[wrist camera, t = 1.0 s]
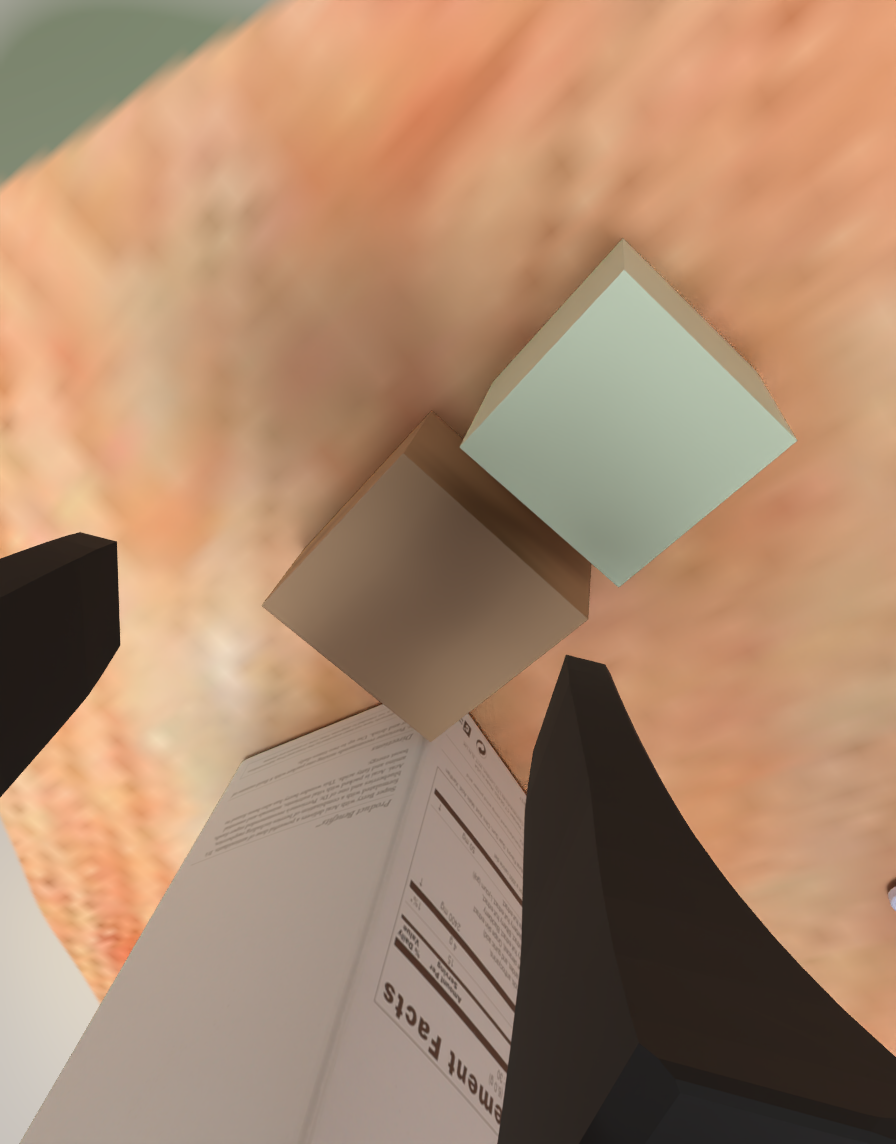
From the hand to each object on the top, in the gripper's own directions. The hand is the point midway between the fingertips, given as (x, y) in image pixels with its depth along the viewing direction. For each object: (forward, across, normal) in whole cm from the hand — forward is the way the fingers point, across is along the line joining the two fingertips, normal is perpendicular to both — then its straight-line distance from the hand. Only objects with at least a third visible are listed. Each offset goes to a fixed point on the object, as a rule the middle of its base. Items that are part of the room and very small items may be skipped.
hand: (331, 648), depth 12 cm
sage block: (+10, -4, -2) cm, 11 cm away
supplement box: (+10, -2, +14) cm, 17 cm away
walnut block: (+10, -1, +4) cm, 11 cm away
